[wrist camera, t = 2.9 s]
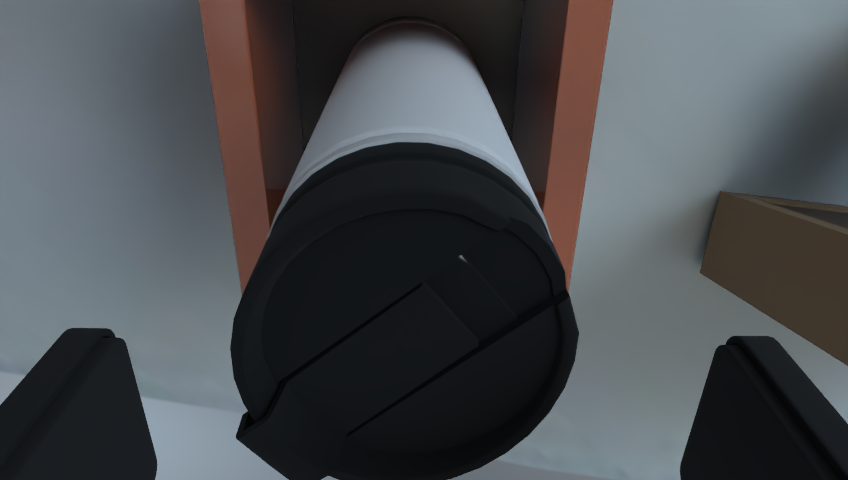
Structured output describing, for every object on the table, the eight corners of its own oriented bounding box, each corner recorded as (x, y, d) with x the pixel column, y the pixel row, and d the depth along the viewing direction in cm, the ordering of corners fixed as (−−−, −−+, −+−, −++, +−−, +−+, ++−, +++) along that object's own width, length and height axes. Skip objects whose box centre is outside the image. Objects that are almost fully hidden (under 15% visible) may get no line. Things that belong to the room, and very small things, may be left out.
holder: (281, 214, 31) (242, 301, 24) (252, -69, 25) (188, -65, 18) (531, 216, 31) (566, 303, 24) (563, -63, 25) (622, -56, 18)
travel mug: (308, 80, 28) (125, 368, 10) (422, -16, 26) (447, 126, 8) (395, 180, 30) (371, 556, 12) (504, 99, 28) (663, 402, 10)
